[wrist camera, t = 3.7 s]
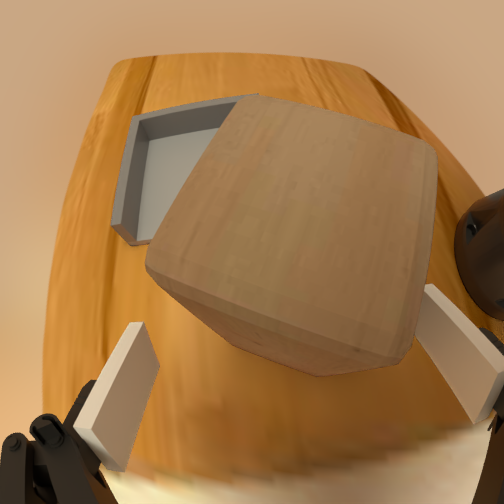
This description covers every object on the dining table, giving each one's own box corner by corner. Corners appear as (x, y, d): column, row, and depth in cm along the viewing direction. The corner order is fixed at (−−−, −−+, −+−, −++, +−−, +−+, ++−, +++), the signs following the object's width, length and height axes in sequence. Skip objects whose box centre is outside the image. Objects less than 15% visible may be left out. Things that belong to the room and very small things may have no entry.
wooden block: (224, 342, 28) (125, 265, 10) (264, 250, 32) (240, 83, 14) (325, 380, 26) (414, 373, 8) (358, 282, 29) (445, 139, 11)
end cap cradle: (261, 121, 39) (258, 93, 35) (277, 228, 33) (275, 202, 28) (145, 141, 40) (132, 116, 36) (130, 246, 33) (110, 225, 29)
